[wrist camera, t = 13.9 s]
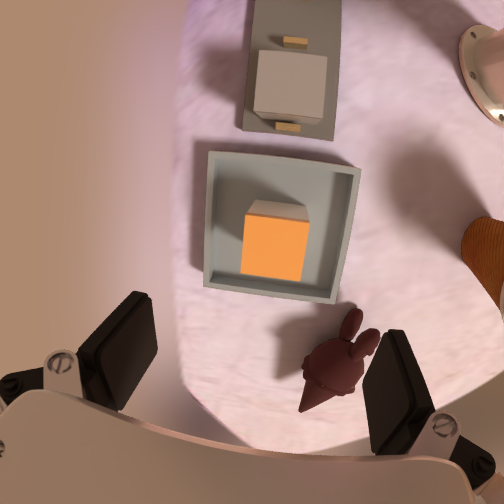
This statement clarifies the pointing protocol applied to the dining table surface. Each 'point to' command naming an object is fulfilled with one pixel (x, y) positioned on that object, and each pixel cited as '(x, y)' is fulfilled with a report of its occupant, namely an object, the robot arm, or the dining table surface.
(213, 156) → the tray
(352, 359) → the icecream
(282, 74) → the block
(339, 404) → the dining table surface
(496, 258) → the disposable coffee cup
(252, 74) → the fuse panel
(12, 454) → the robot arm
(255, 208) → the block
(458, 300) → the dining table surface
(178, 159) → the dining table surface
